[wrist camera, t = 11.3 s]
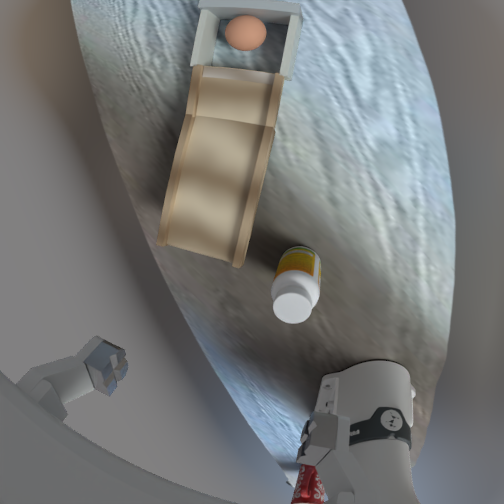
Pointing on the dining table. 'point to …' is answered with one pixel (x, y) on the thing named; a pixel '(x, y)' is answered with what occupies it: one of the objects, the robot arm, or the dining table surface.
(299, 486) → the mug
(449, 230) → the dining table surface
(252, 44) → the ball
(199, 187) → the ramp
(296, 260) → the supplement bottle
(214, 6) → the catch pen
